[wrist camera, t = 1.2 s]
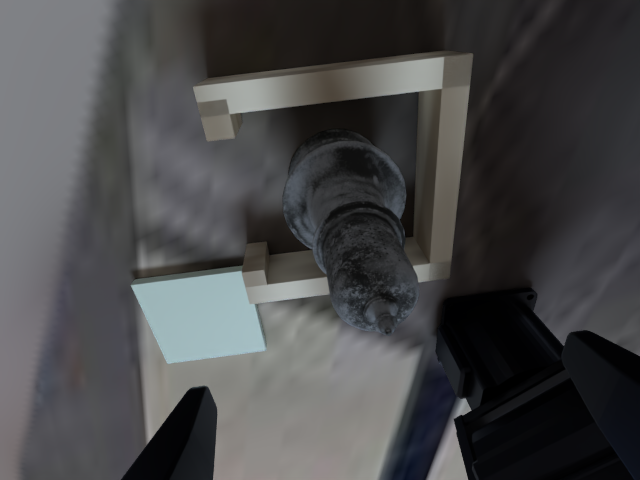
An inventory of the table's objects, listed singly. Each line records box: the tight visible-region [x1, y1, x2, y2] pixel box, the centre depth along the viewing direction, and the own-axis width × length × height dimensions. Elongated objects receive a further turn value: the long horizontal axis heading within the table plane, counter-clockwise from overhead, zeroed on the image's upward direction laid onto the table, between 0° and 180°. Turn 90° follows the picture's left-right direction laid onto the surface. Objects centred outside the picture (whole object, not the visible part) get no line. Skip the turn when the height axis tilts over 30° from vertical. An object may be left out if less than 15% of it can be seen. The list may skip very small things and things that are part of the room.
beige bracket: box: [193, 50, 473, 304], centre depth 19 cm, size 11×11×3 cm
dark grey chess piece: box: [283, 129, 419, 336], centre depth 15 cm, size 6×6×12 cm
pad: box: [131, 265, 267, 364], centre depth 24 cm, size 7×7×1 cm
